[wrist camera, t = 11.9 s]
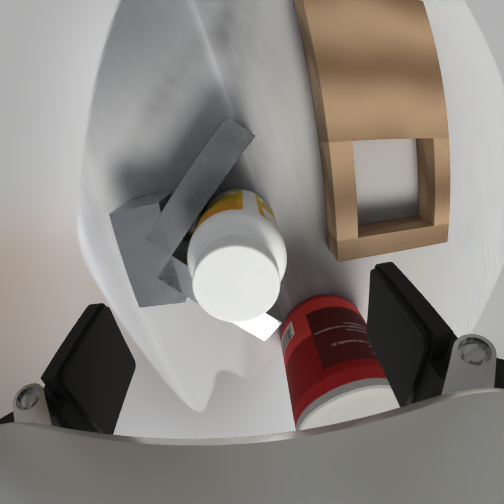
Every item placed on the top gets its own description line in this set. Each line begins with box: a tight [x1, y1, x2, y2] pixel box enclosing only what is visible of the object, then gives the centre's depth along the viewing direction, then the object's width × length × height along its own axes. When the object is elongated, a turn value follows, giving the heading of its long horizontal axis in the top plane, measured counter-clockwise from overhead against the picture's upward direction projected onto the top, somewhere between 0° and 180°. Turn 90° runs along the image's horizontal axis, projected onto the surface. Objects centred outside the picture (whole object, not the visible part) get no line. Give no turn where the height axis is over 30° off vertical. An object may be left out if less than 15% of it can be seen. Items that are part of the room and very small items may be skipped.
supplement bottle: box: [187, 189, 287, 322], centre depth 18 cm, size 5×5×10 cm
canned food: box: [281, 295, 400, 431], centre depth 21 cm, size 8×8×11 cm
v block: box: [109, 117, 282, 341], centre depth 20 cm, size 10×16×4 cm, turn 9°
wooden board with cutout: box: [293, 0, 450, 262], centre depth 18 cm, size 20×10×2 cm, turn 9°
